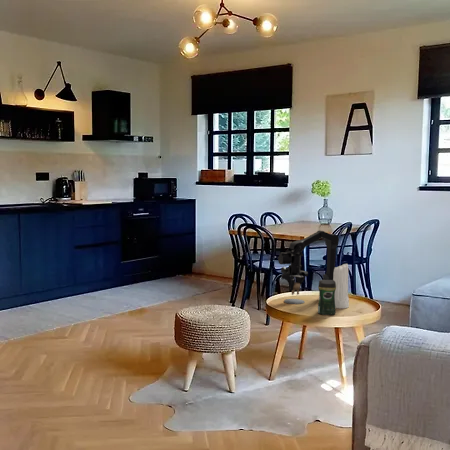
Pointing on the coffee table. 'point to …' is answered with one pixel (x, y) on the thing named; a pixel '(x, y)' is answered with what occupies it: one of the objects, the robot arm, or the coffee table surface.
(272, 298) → the coffee table surface
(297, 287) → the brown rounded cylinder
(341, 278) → the decorative vase
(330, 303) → the coffee jar
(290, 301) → the felt mat
